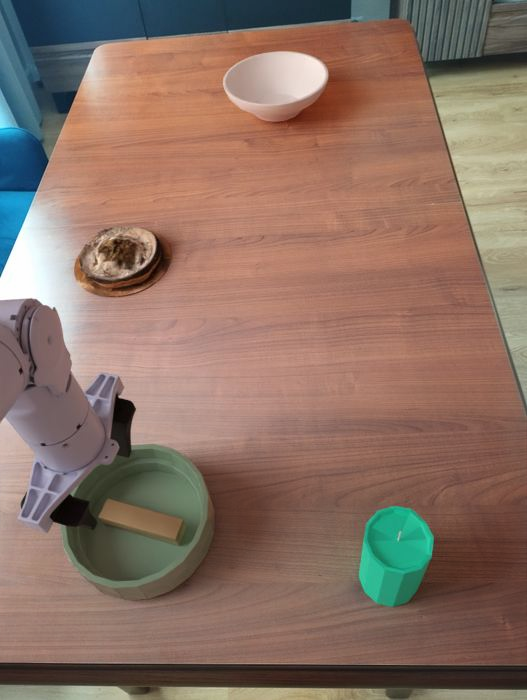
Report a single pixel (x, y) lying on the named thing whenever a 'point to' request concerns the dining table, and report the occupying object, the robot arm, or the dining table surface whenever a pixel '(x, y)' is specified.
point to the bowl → (276, 84)
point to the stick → (143, 522)
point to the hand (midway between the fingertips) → (104, 487)
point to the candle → (394, 555)
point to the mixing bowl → (132, 549)
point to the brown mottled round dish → (122, 261)
